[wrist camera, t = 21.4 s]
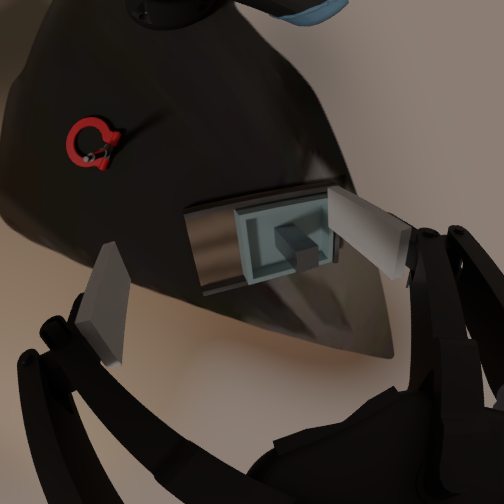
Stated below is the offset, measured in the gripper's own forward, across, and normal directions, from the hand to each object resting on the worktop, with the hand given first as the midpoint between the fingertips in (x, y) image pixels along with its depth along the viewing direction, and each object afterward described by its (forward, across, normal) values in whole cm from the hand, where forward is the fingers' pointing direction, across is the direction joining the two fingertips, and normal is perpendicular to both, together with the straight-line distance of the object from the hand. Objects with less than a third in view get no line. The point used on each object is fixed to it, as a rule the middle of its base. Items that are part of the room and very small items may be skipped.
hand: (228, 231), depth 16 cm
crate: (+30, +14, -18) cm, 38 cm away
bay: (+31, +11, -18) cm, 38 cm away
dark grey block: (+29, +14, -18) cm, 37 cm away
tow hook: (+32, -16, +7) cm, 36 cm away
